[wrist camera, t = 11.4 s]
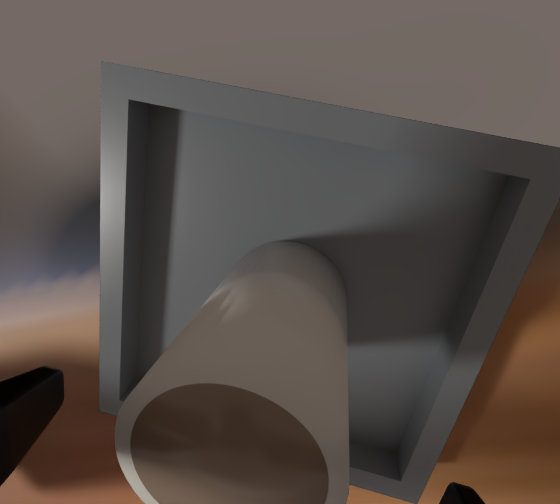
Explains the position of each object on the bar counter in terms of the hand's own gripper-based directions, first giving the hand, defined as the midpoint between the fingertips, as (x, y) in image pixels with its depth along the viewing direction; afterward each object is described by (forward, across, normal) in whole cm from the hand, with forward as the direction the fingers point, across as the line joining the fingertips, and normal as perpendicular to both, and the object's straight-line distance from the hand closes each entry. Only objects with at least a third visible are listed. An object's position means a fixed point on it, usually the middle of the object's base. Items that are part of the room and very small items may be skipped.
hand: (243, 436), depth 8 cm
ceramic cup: (+7, 0, 0) cm, 7 cm away
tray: (+8, 0, 0) cm, 8 cm away
